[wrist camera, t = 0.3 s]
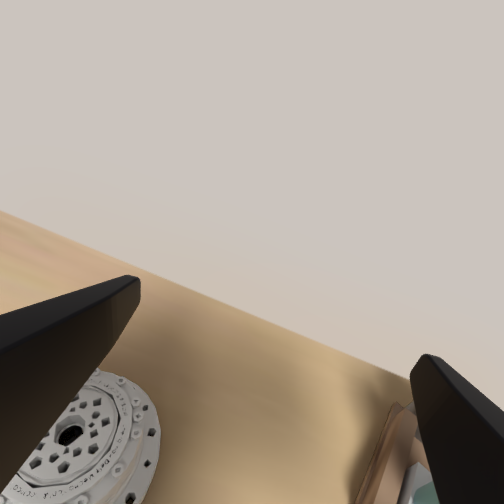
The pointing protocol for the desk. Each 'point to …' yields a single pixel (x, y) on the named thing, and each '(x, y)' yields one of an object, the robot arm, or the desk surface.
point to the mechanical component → (94, 449)
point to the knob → (417, 487)
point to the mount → (393, 457)
